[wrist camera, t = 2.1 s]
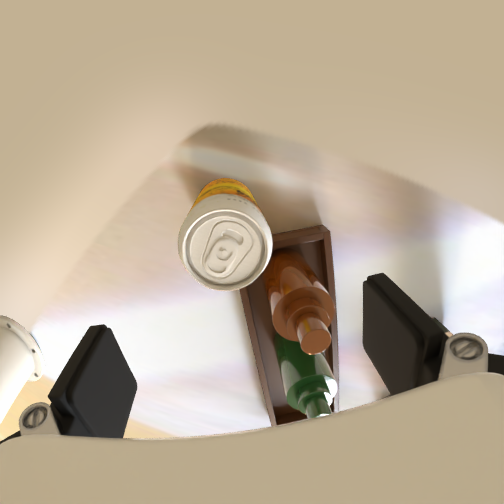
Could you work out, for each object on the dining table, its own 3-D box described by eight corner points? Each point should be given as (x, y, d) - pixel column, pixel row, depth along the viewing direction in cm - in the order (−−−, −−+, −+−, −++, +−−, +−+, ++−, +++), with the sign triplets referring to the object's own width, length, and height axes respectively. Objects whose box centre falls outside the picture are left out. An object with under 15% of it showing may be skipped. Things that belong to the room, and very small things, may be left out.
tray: (270, 417, 44) (272, 429, 42) (230, 242, 34) (230, 250, 32) (334, 402, 44) (338, 413, 42) (322, 224, 34) (330, 230, 32)
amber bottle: (264, 296, 36) (284, 376, 23) (256, 253, 34) (275, 320, 21) (309, 287, 36) (350, 360, 23) (304, 243, 34) (350, 303, 21)
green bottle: (276, 360, 39) (295, 442, 26) (270, 327, 38) (290, 411, 24) (316, 351, 39) (348, 429, 26) (312, 318, 38) (349, 395, 24)
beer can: (264, 194, 33) (293, 231, 19) (236, 242, 34) (245, 310, 20) (213, 167, 31) (203, 183, 17) (187, 217, 33) (159, 271, 19)
